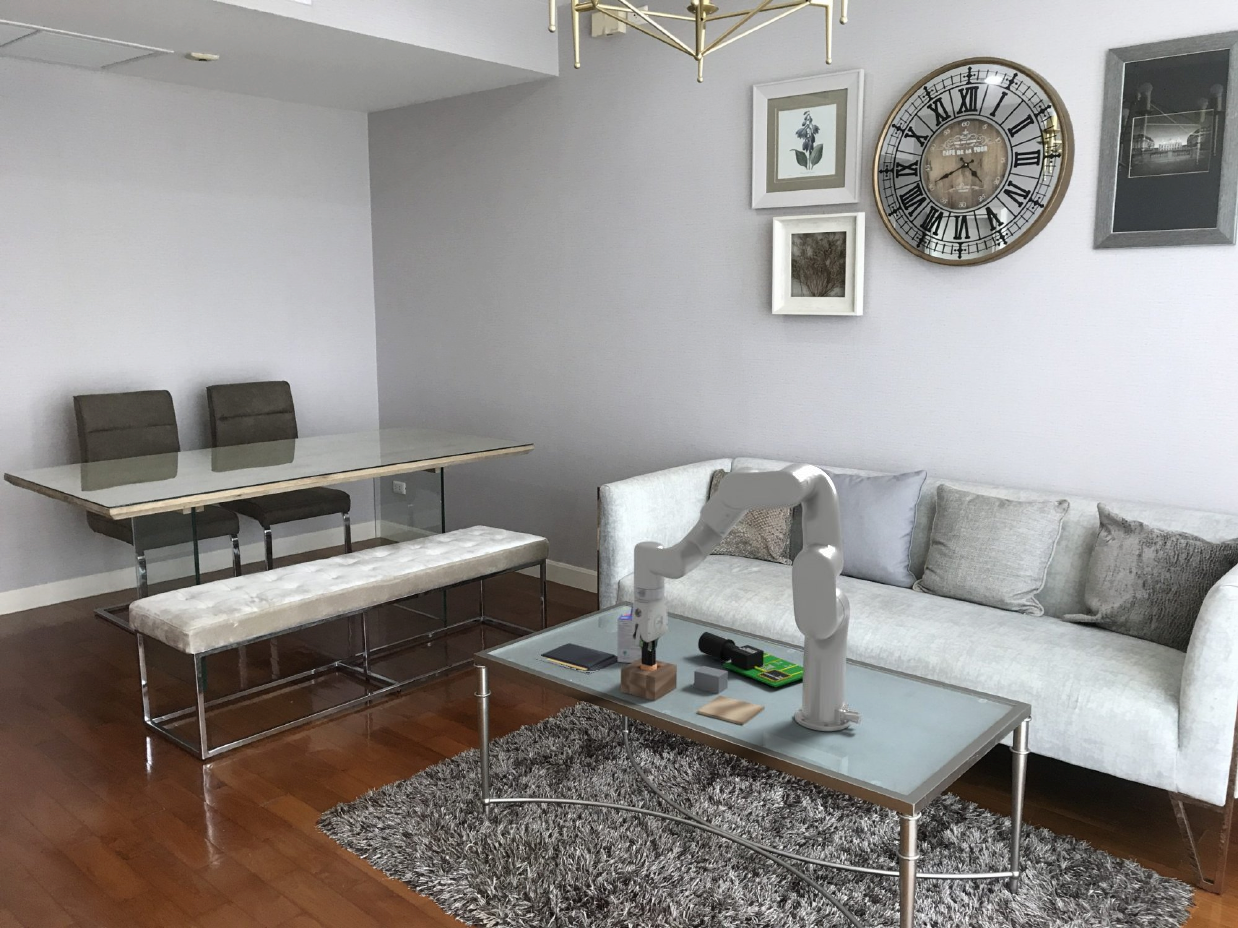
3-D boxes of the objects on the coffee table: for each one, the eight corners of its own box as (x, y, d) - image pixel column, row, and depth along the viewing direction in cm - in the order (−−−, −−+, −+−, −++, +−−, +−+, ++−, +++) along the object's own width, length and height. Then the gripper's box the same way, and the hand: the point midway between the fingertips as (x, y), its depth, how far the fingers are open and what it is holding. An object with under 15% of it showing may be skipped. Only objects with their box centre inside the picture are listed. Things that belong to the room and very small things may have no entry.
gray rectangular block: (727, 688, 245) (727, 671, 244) (718, 694, 241) (719, 676, 241) (703, 682, 249) (703, 665, 248) (694, 688, 245) (694, 670, 245)
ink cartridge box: (656, 658, 266) (657, 606, 264) (653, 665, 261) (653, 612, 259) (621, 655, 268) (621, 604, 266) (617, 662, 263) (617, 610, 261)
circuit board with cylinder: (816, 652, 251) (775, 665, 241) (816, 678, 252) (775, 691, 242) (735, 623, 274) (694, 634, 265) (734, 647, 275) (694, 658, 266)
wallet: (624, 654, 265) (587, 670, 254) (624, 661, 266) (587, 677, 254) (569, 639, 278) (531, 653, 266) (569, 645, 278) (531, 660, 266)
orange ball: (659, 678, 244) (660, 663, 243) (651, 683, 241) (651, 668, 240) (646, 675, 246) (646, 660, 245) (637, 680, 243) (637, 664, 242)
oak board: (764, 708, 232) (764, 706, 232) (742, 724, 223) (743, 722, 223) (719, 697, 239) (719, 695, 239) (697, 712, 230) (697, 710, 230)
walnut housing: (676, 687, 245) (676, 664, 244) (655, 700, 237) (655, 677, 236) (642, 679, 251) (643, 657, 250) (620, 691, 242) (620, 668, 242)
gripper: (645, 602, 232) (644, 676, 235) (678, 587, 244) (677, 658, 247) (619, 597, 236) (619, 670, 239) (652, 583, 248) (652, 652, 251)
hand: (648, 663), depth 243 cm, fingers closed
